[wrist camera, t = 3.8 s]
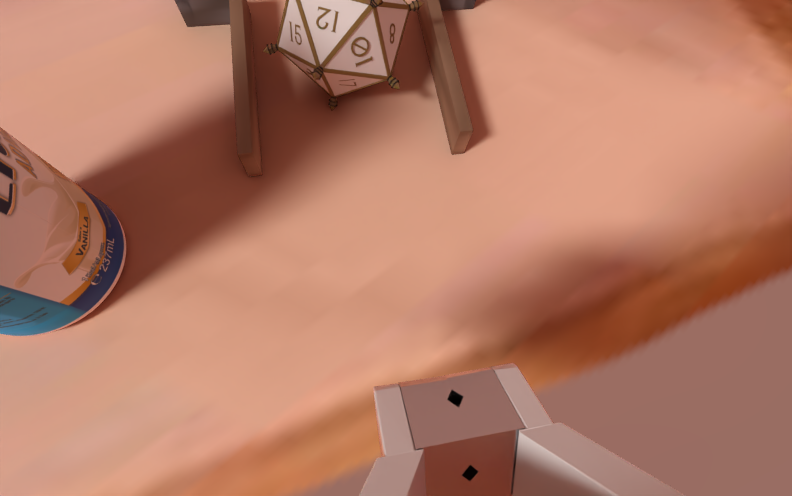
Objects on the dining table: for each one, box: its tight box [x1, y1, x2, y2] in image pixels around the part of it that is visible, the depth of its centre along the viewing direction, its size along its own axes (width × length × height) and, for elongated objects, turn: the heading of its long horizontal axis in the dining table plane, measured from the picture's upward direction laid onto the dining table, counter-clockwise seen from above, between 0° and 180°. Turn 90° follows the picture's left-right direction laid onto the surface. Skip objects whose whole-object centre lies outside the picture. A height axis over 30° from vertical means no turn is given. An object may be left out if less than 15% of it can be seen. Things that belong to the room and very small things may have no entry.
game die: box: [263, 0, 424, 110], centre depth 25 cm, size 9×8×10 cm
